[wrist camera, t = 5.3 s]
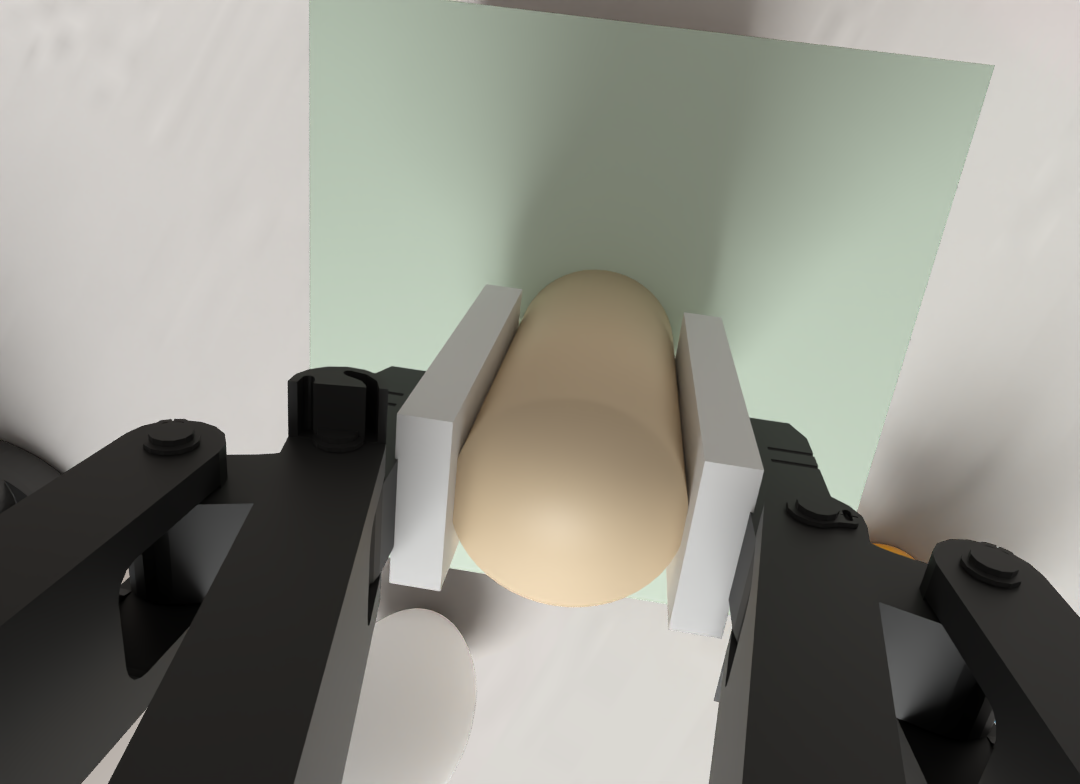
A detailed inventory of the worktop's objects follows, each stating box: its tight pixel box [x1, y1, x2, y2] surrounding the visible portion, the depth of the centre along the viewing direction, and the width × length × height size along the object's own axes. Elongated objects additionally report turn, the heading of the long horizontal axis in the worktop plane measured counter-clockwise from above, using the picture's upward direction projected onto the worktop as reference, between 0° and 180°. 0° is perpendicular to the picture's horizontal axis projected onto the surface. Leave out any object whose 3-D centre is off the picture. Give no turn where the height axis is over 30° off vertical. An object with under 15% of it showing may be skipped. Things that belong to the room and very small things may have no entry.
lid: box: [309, 0, 995, 615], centre depth 15 cm, size 13×13×8 cm
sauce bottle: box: [342, 608, 477, 784], centre depth 41 cm, size 8×8×18 cm
